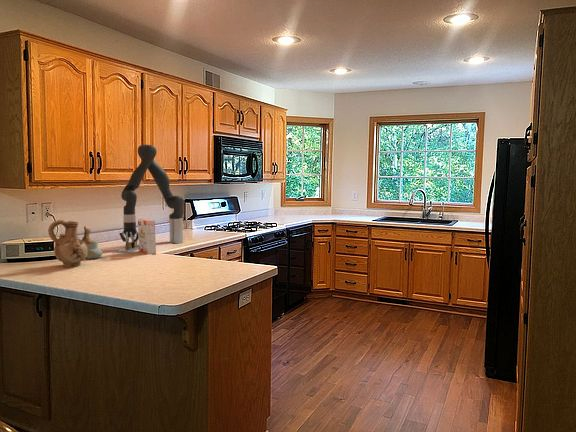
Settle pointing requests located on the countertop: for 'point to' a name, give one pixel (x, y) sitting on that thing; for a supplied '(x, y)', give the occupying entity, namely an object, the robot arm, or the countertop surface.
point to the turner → (128, 247)
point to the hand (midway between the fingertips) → (130, 247)
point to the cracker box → (147, 236)
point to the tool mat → (129, 251)
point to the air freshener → (93, 251)
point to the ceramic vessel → (70, 243)
